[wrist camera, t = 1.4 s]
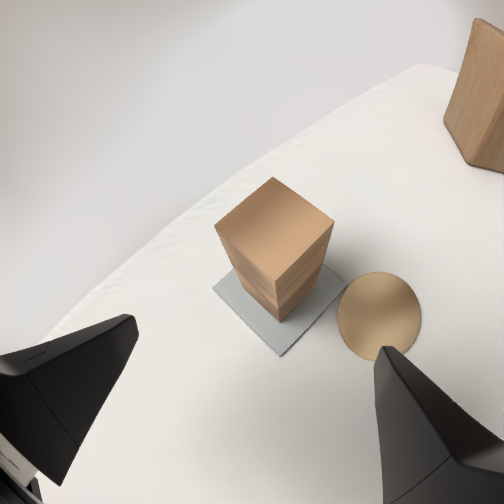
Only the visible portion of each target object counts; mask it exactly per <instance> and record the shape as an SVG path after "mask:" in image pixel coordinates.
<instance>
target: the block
mask: <svg viewBox="0 0 504 504" xmlns="http://www.w3.org/2000/svg"><path fill="white" fill-rule="evenodd" d="M444 124H445V125H446V127H447V129H448V130H449V132H450V134H451V135H452V137H453V139H454V141H455V143H456V144H457V146H458V148H459V150H460V152H461V154H462V156H463V158H464V160H465V161H466V162H467V163H468V164H470V165H474V166H478V167H482V168H486V169H490V170H494V171H498V172H502V173H504V32H503V31H502V30H500V29H498V28H497V27H495V26H493V25H492V24H490V23H488V22H486V21H485V20H483V19H478V18H475V19H474V21H473V25H472V30H471V34H470V38H469V42H468V46H467V49H466V53H465V57H464V60H463V63H462V67H461V70H460V74H459V76H458V79H457V82H456V85H455V88H454V91H453V94H452V96H451V99H450V102H449V104H448V107H447V110H446V112H445V115H444Z"/></svg>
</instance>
